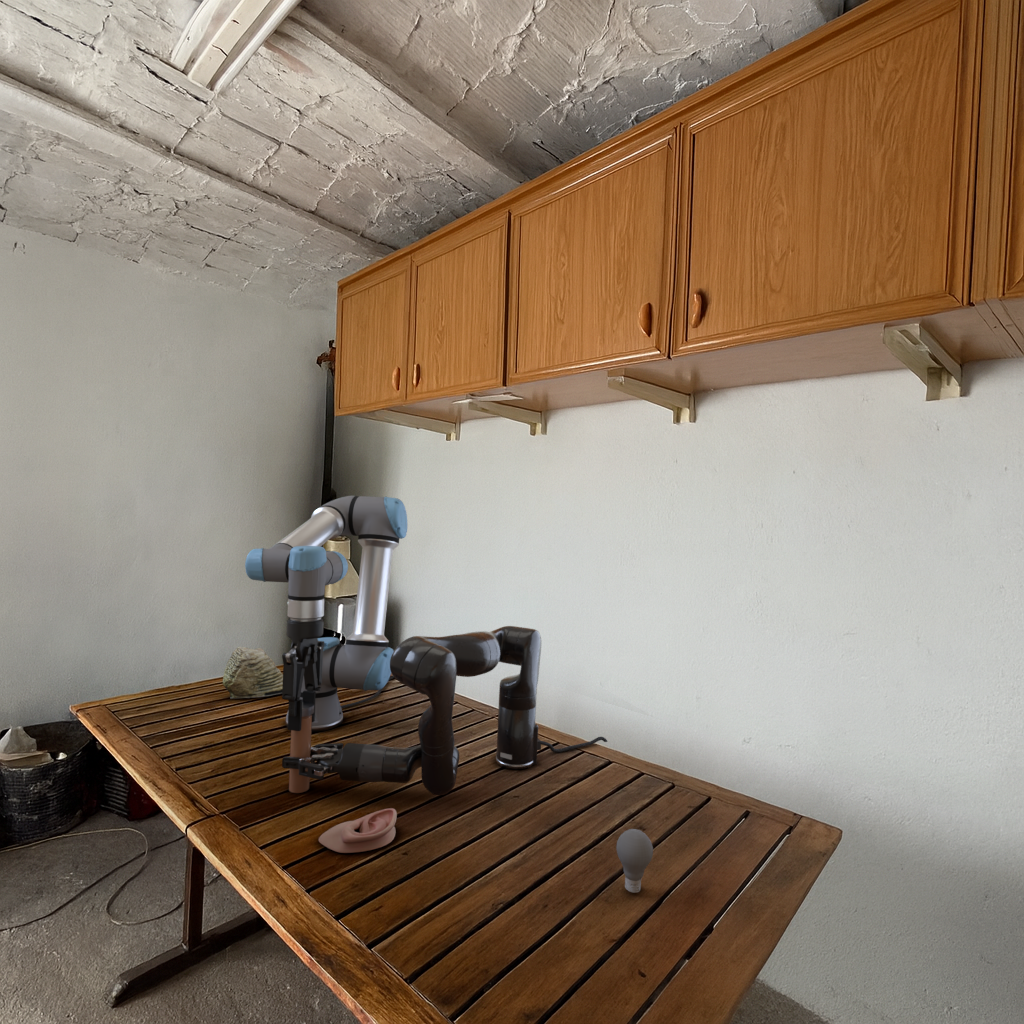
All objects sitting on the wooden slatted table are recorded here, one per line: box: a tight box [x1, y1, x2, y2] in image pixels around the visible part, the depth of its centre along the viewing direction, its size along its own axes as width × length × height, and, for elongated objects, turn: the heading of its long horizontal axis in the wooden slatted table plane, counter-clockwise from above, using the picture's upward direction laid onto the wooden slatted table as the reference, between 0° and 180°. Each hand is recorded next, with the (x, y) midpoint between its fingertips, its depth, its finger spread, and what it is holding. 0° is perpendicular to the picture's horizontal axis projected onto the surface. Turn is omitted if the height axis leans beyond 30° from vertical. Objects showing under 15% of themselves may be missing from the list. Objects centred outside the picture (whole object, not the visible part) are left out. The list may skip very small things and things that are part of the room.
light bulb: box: [615, 828, 654, 894], centre depth 106 cm, size 6×6×10 cm
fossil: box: [222, 646, 283, 699], centre depth 198 cm, size 9×18×15 cm, turn 132°
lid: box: [302, 702, 314, 717], centre depth 137 cm, size 5×5×2 cm
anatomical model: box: [318, 807, 398, 854], centre depth 118 cm, size 13×4×12 cm
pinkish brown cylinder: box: [288, 715, 312, 794], centre depth 137 cm, size 4×4×17 cm
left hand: (301, 725), depth 137 cm, fingers closed on lid, 5 cm apart
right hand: (287, 757), depth 137 cm, fingers closed on pinkish brown cylinder, 4 cm apart
